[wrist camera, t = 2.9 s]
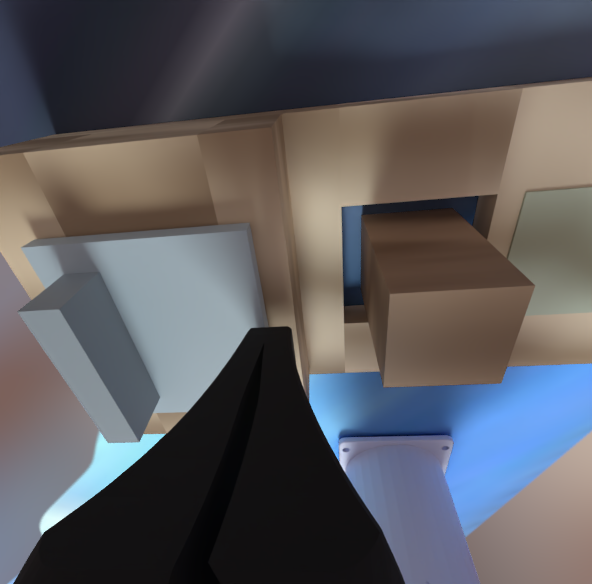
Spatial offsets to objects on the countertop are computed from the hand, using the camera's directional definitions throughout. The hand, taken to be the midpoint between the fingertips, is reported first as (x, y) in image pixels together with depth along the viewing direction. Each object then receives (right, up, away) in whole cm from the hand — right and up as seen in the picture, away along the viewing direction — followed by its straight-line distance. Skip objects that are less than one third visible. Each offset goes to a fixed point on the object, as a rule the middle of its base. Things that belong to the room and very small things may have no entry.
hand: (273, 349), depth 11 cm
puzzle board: (+4, +4, +5) cm, 7 cm away
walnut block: (+6, +4, +5) cm, 9 cm away
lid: (-4, +1, +1) cm, 4 cm away
